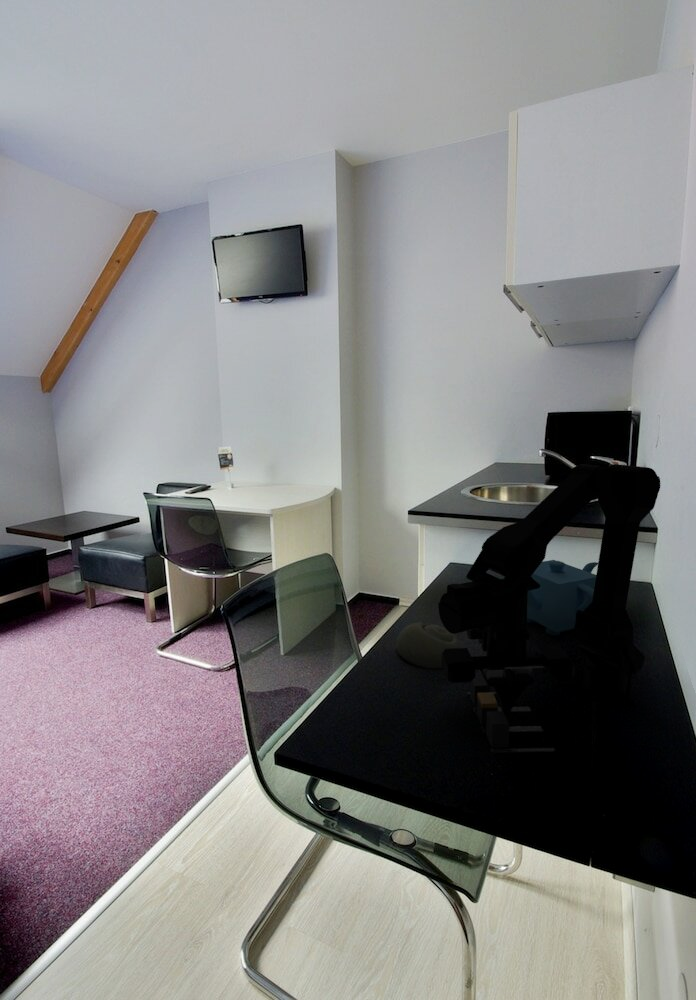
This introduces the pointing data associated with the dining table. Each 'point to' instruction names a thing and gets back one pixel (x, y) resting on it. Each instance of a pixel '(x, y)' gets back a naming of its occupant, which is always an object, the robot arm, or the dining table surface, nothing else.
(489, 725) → the handle
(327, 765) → the dining table surface
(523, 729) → the panel
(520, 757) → the dining table surface
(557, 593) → the teakettle
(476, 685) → the handle
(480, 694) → the handle
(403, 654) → the seashell
